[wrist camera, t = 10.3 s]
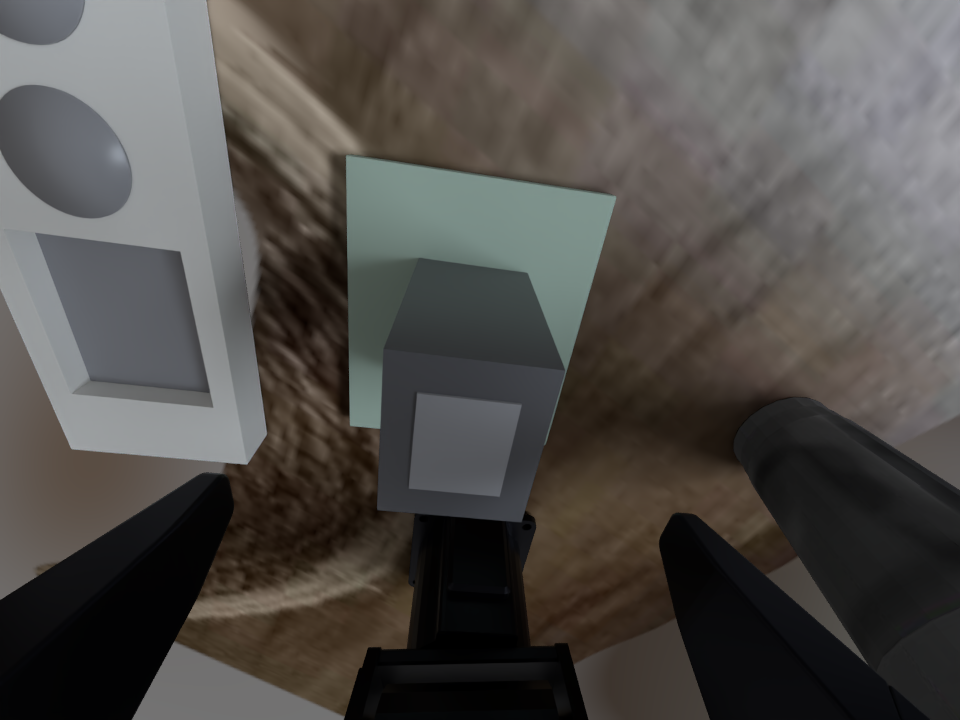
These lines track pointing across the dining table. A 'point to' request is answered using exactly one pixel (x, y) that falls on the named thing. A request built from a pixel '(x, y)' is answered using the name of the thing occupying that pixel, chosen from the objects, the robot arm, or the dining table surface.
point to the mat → (459, 250)
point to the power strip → (125, 228)
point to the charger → (465, 393)
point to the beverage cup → (867, 541)
